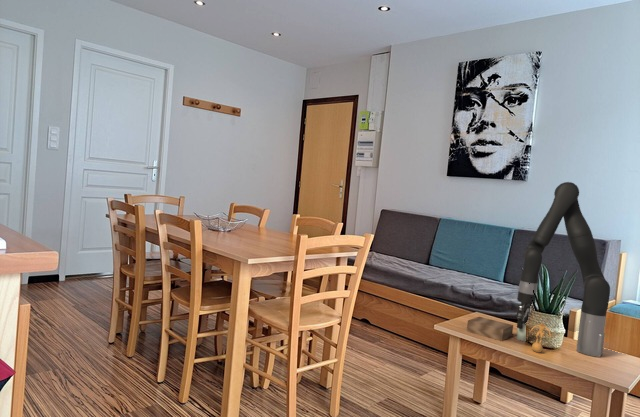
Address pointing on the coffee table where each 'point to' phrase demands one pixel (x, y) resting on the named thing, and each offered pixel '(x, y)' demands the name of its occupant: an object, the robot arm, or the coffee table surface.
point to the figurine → (537, 346)
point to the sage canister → (521, 333)
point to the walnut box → (490, 328)
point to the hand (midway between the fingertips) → (522, 327)
